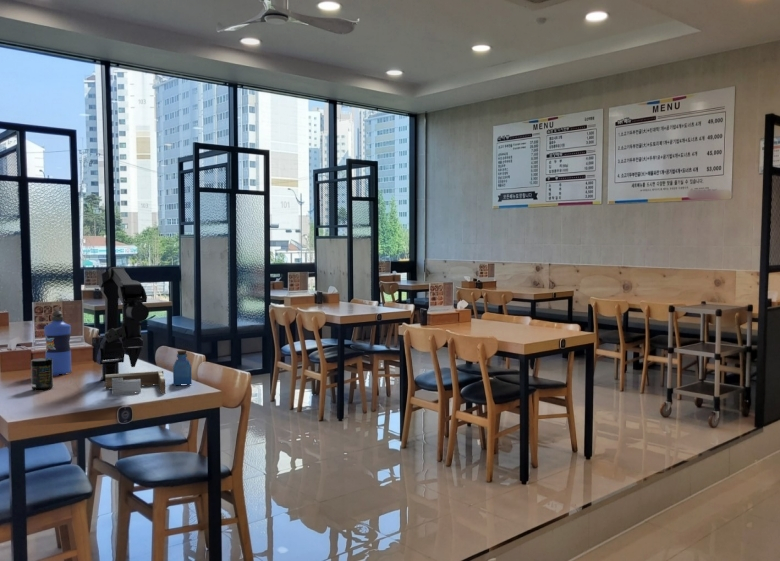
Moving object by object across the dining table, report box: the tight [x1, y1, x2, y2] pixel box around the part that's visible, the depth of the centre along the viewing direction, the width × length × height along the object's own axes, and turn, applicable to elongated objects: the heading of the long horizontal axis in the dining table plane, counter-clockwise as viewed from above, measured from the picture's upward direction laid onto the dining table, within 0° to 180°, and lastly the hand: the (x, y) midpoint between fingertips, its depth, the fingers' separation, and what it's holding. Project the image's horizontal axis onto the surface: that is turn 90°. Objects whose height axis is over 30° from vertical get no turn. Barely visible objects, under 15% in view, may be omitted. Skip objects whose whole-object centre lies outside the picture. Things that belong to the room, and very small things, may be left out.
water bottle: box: [43, 310, 72, 376], centre depth 257 cm, size 9×9×25 cm
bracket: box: [111, 378, 142, 396], centre depth 222 cm, size 9×9×4 cm
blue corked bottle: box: [172, 350, 192, 385], centre depth 235 cm, size 6×6×12 cm
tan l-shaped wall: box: [105, 370, 166, 394], centre depth 223 cm, size 18×19×5 cm
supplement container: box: [30, 357, 54, 391], centre depth 227 cm, size 7×7×10 cm
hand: (132, 365), depth 220 cm, fingers open, 9 cm apart
